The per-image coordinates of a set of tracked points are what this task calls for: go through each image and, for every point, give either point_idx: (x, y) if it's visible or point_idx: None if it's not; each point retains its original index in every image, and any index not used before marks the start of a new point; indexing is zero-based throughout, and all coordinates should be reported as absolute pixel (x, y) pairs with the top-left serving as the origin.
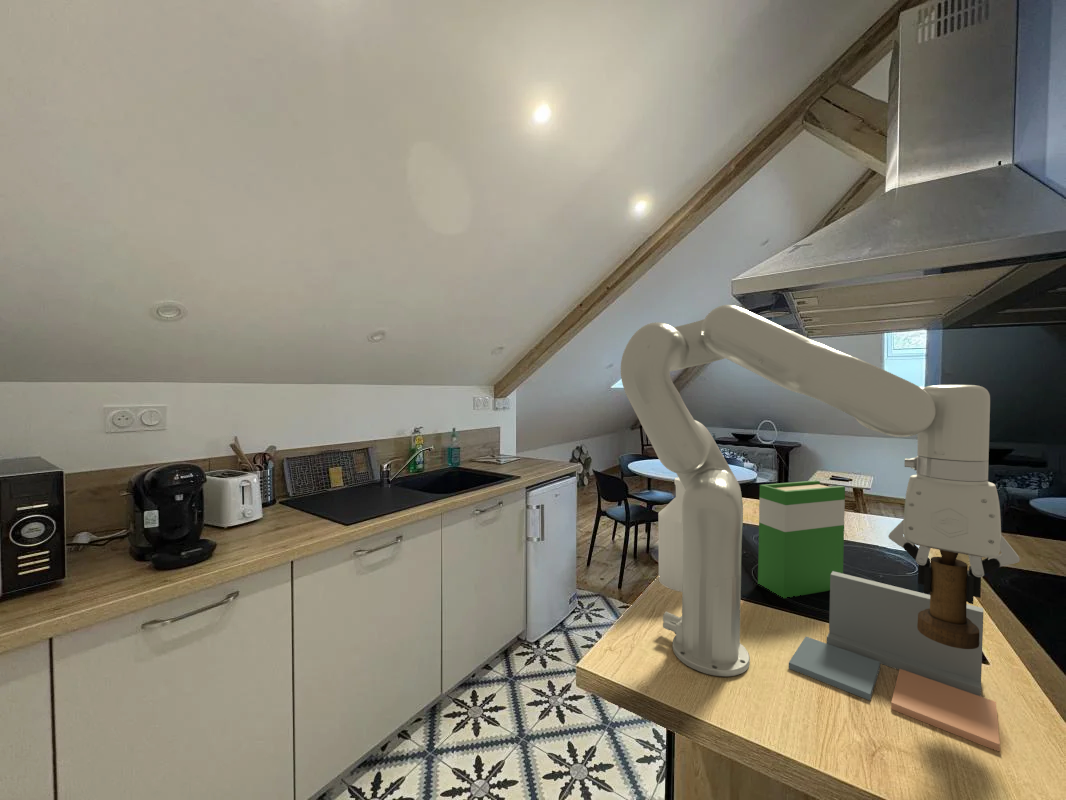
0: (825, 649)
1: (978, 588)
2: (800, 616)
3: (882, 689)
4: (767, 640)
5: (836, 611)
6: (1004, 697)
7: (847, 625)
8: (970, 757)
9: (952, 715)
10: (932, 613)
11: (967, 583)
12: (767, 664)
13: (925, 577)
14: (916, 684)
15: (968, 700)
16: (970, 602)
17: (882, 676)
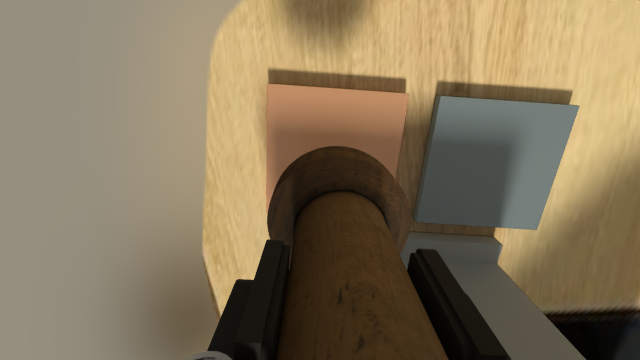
0: (504, 204)
1: (234, 304)
2: None
3: (414, 149)
4: (601, 183)
5: (514, 296)
6: (257, 248)
7: (480, 278)
8: (305, 34)
9: (323, 123)
10: (382, 215)
11: (276, 302)
12: (609, 90)
13: (461, 296)
14: None
15: None
16: (276, 241)
17: (411, 192)
